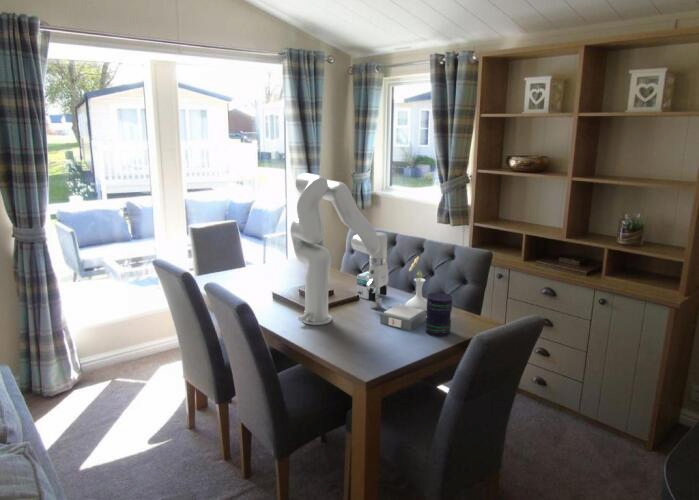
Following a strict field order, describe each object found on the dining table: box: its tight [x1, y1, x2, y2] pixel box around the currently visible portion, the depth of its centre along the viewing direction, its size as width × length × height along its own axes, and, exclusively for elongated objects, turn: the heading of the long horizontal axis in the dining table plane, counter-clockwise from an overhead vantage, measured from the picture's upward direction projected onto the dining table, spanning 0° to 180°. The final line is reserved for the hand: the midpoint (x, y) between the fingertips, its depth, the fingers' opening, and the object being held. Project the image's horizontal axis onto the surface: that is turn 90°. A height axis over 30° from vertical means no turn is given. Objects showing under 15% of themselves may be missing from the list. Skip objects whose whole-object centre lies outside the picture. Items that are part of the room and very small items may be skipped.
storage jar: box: [424, 292, 453, 338], centre depth 207 cm, size 10×10×15 cm
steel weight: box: [369, 295, 383, 311], centre depth 235 cm, size 5×5×5 cm
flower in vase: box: [404, 256, 427, 312], centre depth 231 cm, size 13×11×25 cm
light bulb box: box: [356, 270, 381, 300], centre depth 251 cm, size 11×7×11 cm, turn 143°
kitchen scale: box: [379, 304, 427, 332], centre depth 218 cm, size 15×14×5 cm
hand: (377, 297), depth 235 cm, fingers open, 9 cm apart
